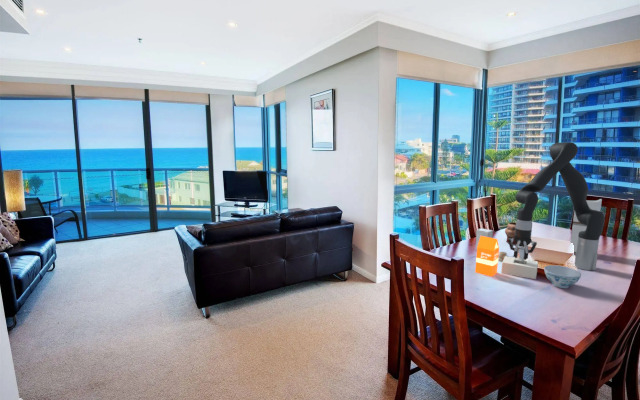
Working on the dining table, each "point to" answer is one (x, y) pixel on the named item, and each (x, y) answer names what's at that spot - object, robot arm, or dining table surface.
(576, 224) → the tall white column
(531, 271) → the hole block
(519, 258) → the long pin
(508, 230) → the decorative planter
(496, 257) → the orange juice
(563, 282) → the chinaware
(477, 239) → the skincare box
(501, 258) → the short pin
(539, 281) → the dining table surface
